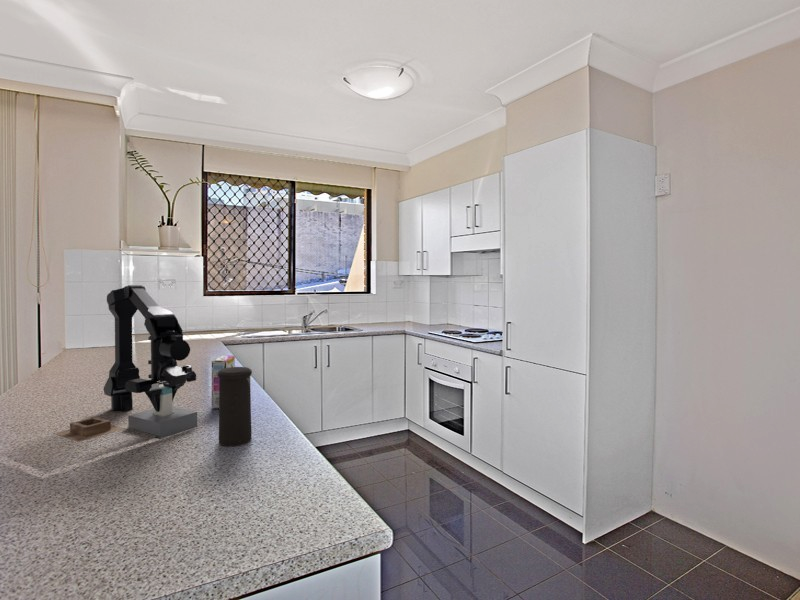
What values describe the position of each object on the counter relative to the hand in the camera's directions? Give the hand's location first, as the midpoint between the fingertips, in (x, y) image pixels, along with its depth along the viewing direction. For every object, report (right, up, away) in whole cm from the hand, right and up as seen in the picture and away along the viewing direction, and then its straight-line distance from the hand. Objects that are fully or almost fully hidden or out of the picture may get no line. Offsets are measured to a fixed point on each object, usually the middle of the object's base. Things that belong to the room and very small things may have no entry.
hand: (163, 410), depth 134 cm
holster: (-18, -6, -5) cm, 19 cm away
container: (+24, -6, -9) cm, 27 cm away
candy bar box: (+8, -5, +25) cm, 27 cm away
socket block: (0, -6, 0) cm, 6 cm away
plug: (0, -4, 0) cm, 4 cm away
